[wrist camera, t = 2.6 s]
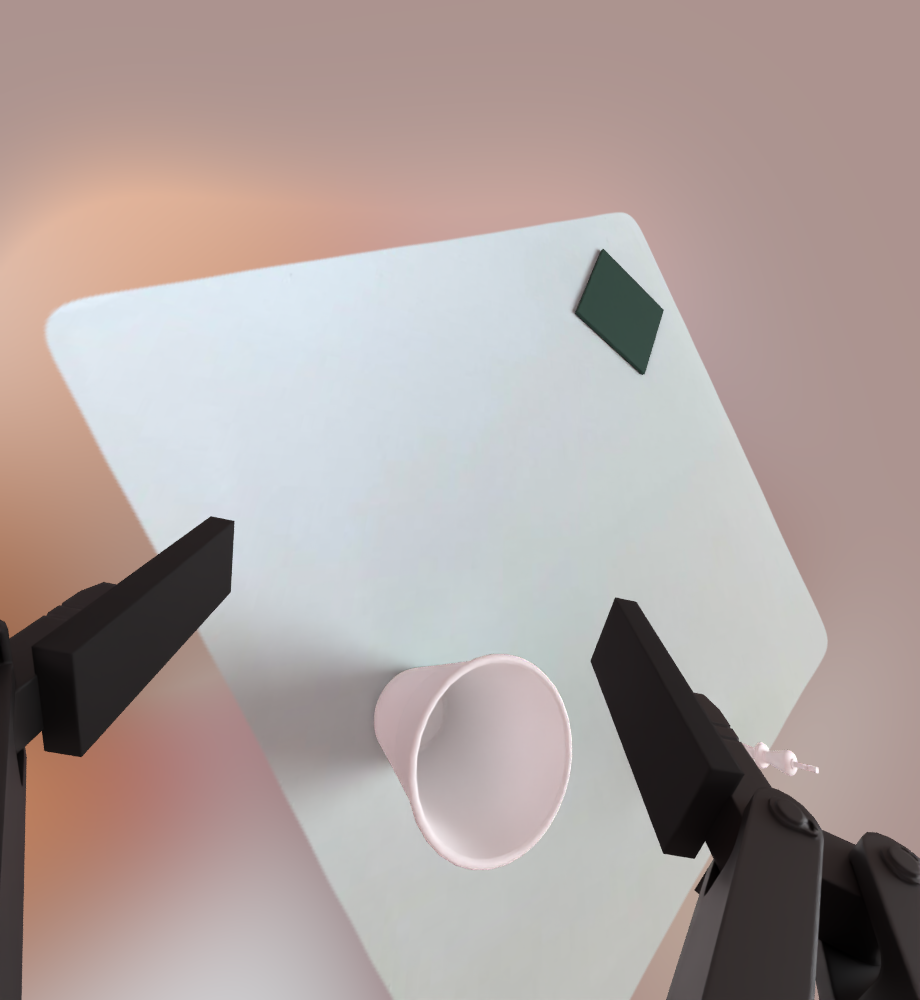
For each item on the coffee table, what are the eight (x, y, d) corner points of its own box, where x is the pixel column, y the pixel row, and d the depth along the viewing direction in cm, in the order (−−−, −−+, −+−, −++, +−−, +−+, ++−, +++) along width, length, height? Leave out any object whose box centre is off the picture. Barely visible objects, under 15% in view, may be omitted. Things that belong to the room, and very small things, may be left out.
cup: (312, 732, 29) (365, 793, 20) (409, 611, 34) (489, 614, 25) (417, 821, 31) (510, 914, 22) (495, 696, 36) (599, 728, 27)
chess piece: (718, 769, 47) (833, 806, 38) (686, 763, 45) (801, 801, 36) (719, 717, 48) (831, 742, 40) (689, 709, 46) (800, 733, 38)
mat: (575, 313, 50) (577, 311, 49) (600, 250, 54) (603, 248, 54) (642, 375, 53) (644, 373, 53) (661, 311, 58) (663, 309, 57)
